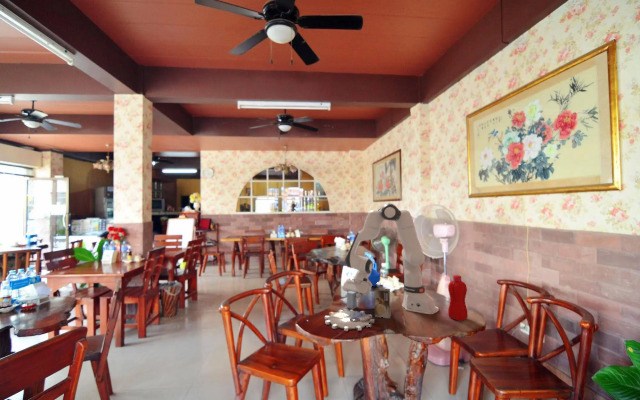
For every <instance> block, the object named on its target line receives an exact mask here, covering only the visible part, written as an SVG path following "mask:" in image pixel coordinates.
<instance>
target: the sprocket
mask: <svg viewBox="0 0 640 400" xmlns="http://www.w3.org/2000/svg"><path fill="white" fill-rule="evenodd" d="M365 312H366V311H364V310H361V311H357V310H354V309H350V308H349V310H342V309H338V311H336V312H334V311H330V312H329V313H328V315H325V316H324V320H325V321H324V322H325V324H326V325H327V326H329V325H331V328H332V329H334V330H336V329H342V330H344V332H348V331H349V330H357V332H358V331H362V329H363V328H368V327H370V328H371V327H372V324H374V323H375V318H373V314H366V313H365ZM369 323H370V324H369ZM365 326H366V327H365Z"/></svg>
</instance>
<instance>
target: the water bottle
mask: <svg viewBox="0 0 640 400" xmlns="http://www.w3.org/2000/svg"><path fill="white" fill-rule="evenodd" d="M452 277H453V280H452V281H450V282H449V283H448V284H447V285H448V286H447V290H448V295H449V300H450V301H449V305H448V309H447V311H448V313H447V314H448V317H449V319H453V320H456V321H461V322H462V321H464V320H467V319H468V315H469V314H468V309H467V304H466V296H467V292H468V288H467V284H466V283H465V282H464V281H462V275H458V274H456V275H453V276H452Z"/></svg>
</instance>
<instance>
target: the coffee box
mask: <svg viewBox="0 0 640 400" xmlns="http://www.w3.org/2000/svg"><path fill="white" fill-rule="evenodd" d="M373 297H374V298H373V299H374V301H373V302H374V318H381V317H383V318H382V319H391V316H392V314H391V289H390V288H382V287H375V288H374V290H373Z"/></svg>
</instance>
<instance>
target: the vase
mask: <svg viewBox="0 0 640 400" xmlns="http://www.w3.org/2000/svg"><path fill="white" fill-rule="evenodd" d="M368 280H369V281H370V282H371V283H372V286H374V287H376V286H375V284H376V283H377V282H379V283H380V280H381V274H380V273H379V272H378V271H377V270H375V268H374V267H373V268H372V271H371V274H370V275H369V277H368Z"/></svg>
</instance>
